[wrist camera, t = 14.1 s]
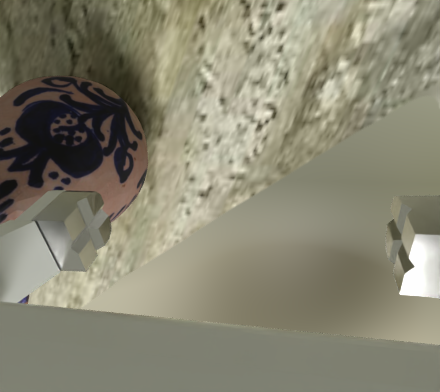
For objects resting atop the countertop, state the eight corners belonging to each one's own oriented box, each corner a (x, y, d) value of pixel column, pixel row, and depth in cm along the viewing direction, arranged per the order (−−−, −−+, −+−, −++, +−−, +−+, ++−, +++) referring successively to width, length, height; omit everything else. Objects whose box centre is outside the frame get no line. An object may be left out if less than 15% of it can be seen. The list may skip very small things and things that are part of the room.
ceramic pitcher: (189, 120, 42) (86, 262, 22) (122, 219, 54) (13, 371, 33) (64, 29, 39) (-196, 94, 18) (21, 154, 50) (-168, 280, 30)
